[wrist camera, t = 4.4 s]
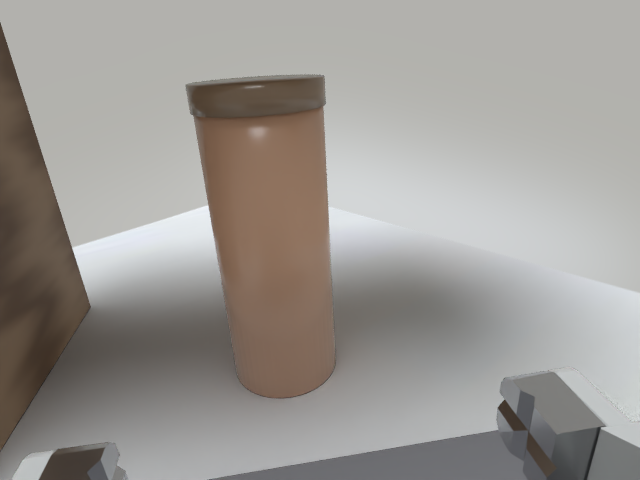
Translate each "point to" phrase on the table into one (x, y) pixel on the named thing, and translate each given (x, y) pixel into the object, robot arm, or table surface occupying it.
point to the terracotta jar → (270, 225)
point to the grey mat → (411, 463)
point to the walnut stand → (30, 259)
